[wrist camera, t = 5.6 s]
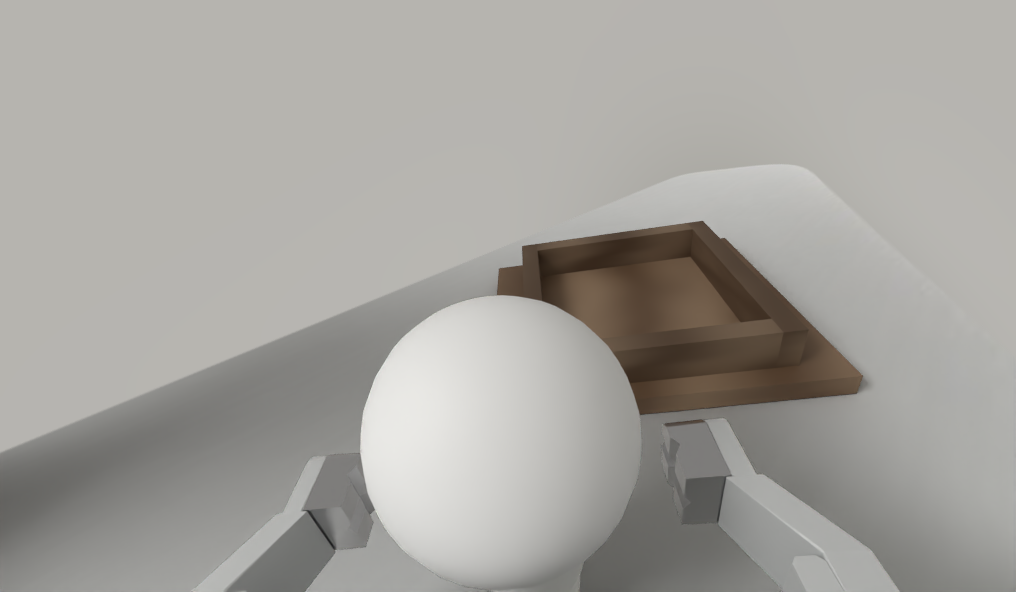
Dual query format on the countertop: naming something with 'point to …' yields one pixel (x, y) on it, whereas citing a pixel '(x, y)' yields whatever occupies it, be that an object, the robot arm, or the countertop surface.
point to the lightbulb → (501, 444)
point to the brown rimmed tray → (684, 318)
